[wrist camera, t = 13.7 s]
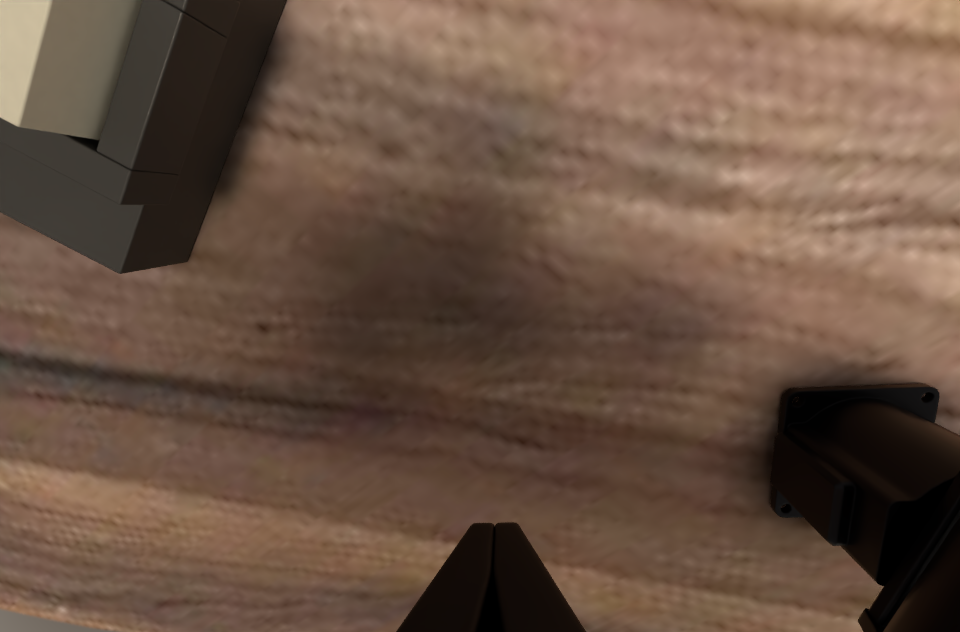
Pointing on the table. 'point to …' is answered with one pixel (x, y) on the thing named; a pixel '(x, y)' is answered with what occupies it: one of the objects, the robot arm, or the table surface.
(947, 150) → the table surface
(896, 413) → the robot arm
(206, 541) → the table surface
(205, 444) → the table surface
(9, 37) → the cream block
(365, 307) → the table surface
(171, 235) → the stepped base
